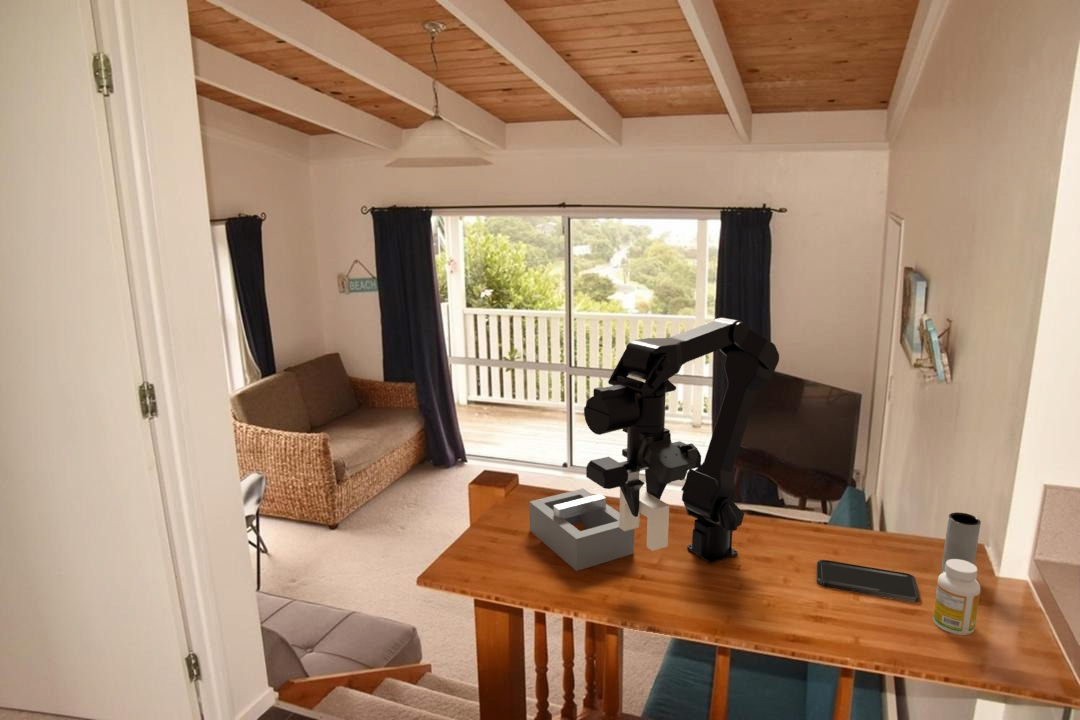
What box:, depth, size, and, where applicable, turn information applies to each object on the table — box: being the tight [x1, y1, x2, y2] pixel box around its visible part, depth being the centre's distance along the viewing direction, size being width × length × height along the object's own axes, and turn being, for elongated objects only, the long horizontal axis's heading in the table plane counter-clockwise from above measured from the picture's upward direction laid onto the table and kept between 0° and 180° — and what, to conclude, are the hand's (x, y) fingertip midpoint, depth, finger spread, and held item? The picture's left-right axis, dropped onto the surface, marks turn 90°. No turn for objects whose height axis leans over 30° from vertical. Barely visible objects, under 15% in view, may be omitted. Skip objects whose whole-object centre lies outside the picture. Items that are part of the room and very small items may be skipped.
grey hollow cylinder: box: [941, 512, 982, 574], centre depth 116 cm, size 4×4×10 cm
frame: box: [528, 488, 635, 572], centre depth 129 cm, size 12×17×6 cm
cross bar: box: [554, 493, 607, 520], centre depth 128 cm, size 10×2×2 cm, turn 119°
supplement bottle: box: [932, 559, 981, 636], centre depth 103 cm, size 5×5×10 cm
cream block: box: [619, 487, 670, 552], centre depth 113 cm, size 3×9×7 cm, turn 29°
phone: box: [816, 559, 921, 603], centre depth 115 cm, size 8×1×15 cm
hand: (643, 513), depth 113 cm, fingers closed on cream block, 3 cm apart
